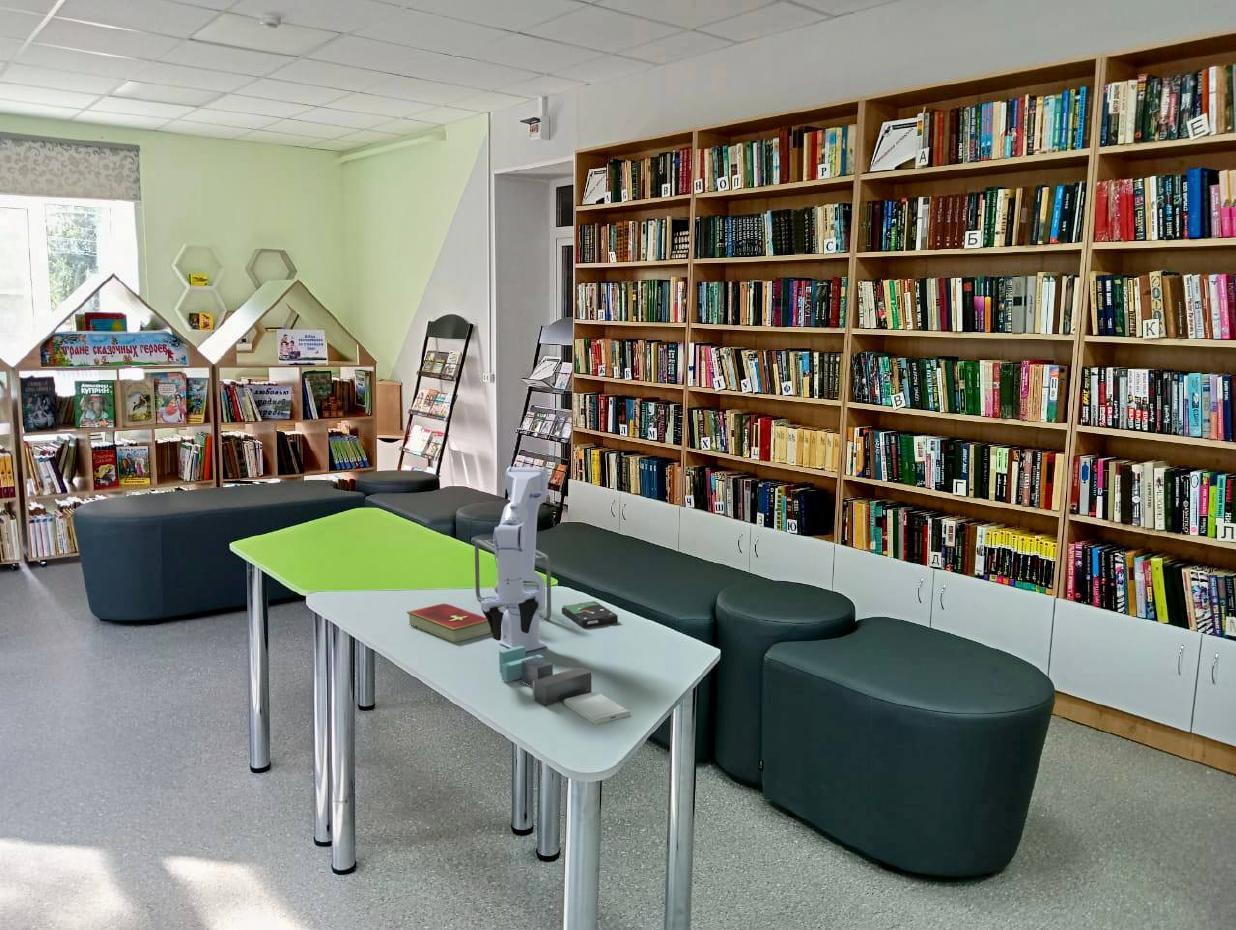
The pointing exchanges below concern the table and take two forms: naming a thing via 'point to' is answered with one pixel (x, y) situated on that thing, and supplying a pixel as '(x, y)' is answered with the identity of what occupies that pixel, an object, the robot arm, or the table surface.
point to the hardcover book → (449, 622)
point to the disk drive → (589, 614)
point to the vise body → (562, 686)
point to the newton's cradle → (548, 570)
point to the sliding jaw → (513, 662)
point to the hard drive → (596, 707)
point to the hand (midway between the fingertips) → (511, 635)
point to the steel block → (535, 670)
